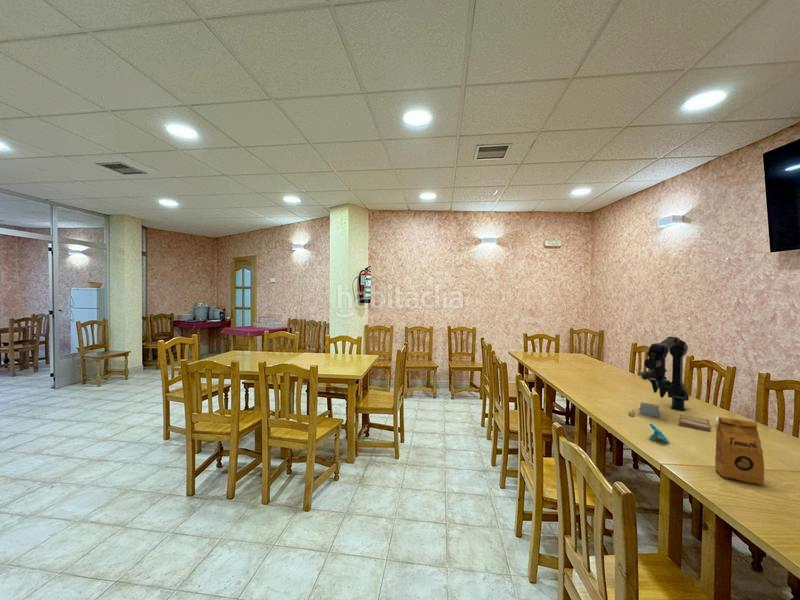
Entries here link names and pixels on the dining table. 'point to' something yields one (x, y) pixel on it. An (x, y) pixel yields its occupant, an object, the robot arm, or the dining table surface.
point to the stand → (694, 423)
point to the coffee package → (739, 451)
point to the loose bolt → (631, 413)
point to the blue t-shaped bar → (657, 433)
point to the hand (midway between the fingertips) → (658, 395)
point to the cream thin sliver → (717, 421)
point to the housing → (649, 410)
